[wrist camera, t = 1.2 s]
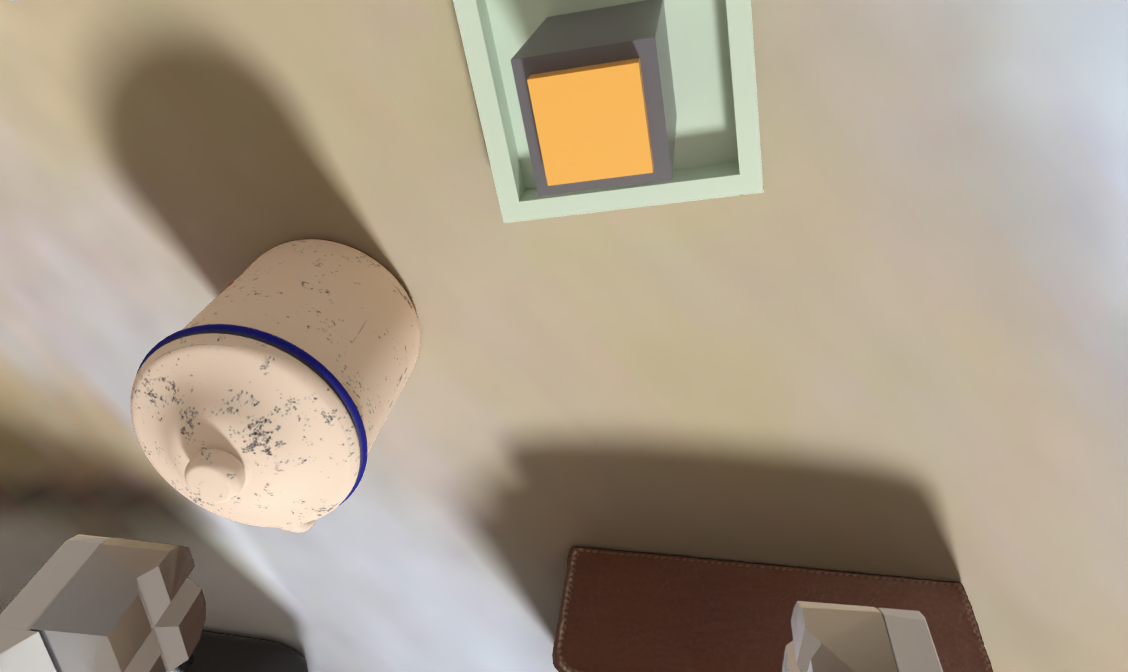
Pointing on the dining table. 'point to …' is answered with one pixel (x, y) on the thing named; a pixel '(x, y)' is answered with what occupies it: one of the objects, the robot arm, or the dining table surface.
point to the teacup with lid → (279, 385)
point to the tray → (701, 88)
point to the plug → (598, 98)
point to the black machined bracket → (243, 655)
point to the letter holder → (729, 613)
